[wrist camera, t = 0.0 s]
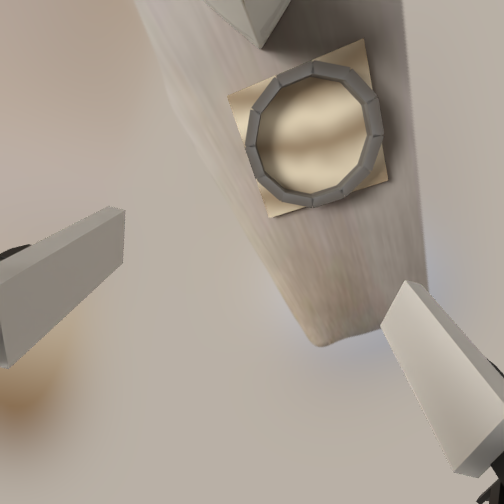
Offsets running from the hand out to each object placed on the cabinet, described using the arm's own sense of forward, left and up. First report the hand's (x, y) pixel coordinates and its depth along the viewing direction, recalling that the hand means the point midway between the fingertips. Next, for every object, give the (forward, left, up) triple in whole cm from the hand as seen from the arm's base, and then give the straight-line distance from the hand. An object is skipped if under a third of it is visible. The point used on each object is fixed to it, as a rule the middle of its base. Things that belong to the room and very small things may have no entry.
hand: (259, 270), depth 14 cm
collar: (-5, +4, -28) cm, 29 cm away
